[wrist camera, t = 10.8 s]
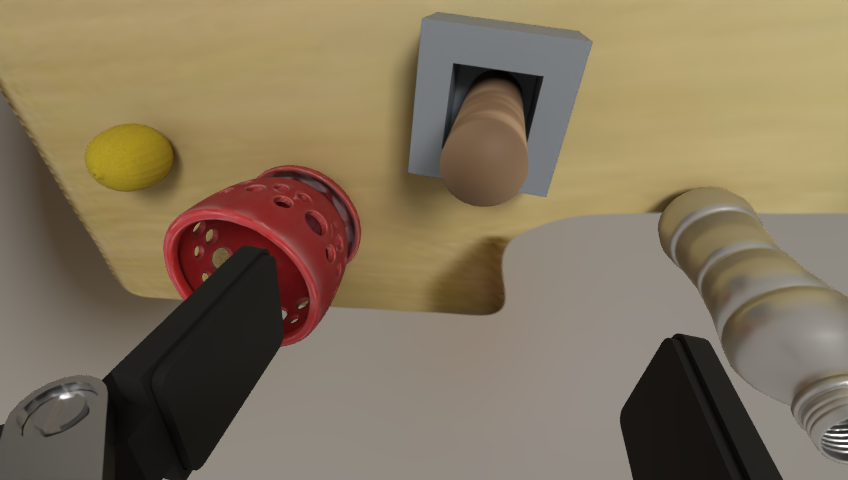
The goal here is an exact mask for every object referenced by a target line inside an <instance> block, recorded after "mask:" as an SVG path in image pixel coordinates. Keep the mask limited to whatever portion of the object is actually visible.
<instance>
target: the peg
mask: <svg viewBox="0 0 848 480" xmlns="http://www.w3.org/2000/svg"><path fill="white" fill-rule="evenodd" d="M528 166H529V162H528V152H527V142H526V131H525V121H524V111H523V101H522V91H521V87H520V85H519V83H518V81H517V80H516V79H515V78H514V77H513V76H512V75H511V74H509V73H508V72H505V71H502V70H489V71H486V72H484V73H482V74H480V75H479V76H478V77H477V78H476V79H475V80H474V81H473V82H472V84H471V86H470V88H469V90H468V92H467V95H466V97H465V99H464V101H463V104H462V106H461V108H460V111H459V113H458V115H457V118H456V120H455V122H454V125H453V127H452V129H451V131H450V134H449V136H448V138H447V141H446V143H445V145H444V148H443V150H442V153H441V157H440V173H441V177H442V180H443V182H444V184H445V186H446V187H447V189H448V190H449V191H450V192H451V193H452V194H453V195H454V196H455V197H456V198H458V199H459V200H461V201H463V202H465V203H467V204H470V205H474V206H493V205H498V204H500V203H503V202H505V201H507V200H509V199H510V198H511V197H513V196H514V195H515V194H516V193H517V192H518V191H519V190H520V188H521V187H522V186H523V184H524V182H525V180H526V177H527V173H528Z"/></svg>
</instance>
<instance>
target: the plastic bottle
mask: <svg viewBox="0 0 848 480" xmlns="http://www.w3.org/2000/svg"><path fill="white" fill-rule="evenodd" d="M658 231H659V238H660V242H661V246H662V248H663V250H664V252H665V253H666V254H667V256H668V257H669V258H670V259H671V260H672V261H673V262H674V263H675V264H676V265H677V266H678V267H679V268H680V269H682V270H683V271H684V272H685V274H686V275H687V276H688V277H689V279H690V280H691V281H692V282H693V284H694V285H695V286H696V288H697V289H698V291H699V293H700V295H701V297H702V298H703V300H704V302H705V305H706V307H707V308H708V310H709V312H710V314H711V316H712V319H713V322H714V325H715V328H716V331H717V333H718V336H719V339H720V342H721V344H722V348H723V350H724V353H725V355H726V357H727V359H728V361H729V363H730V366H731V367H732V368H733V369H734V371H735V372H736V373H737V374H738V375H739V376H740V377H741V378H743V379H744V380H745V381H746V382H747V383H748V384H750V385H751V386H752V387H754V388H755V389H757V390H759V391H760V392H763V393H764V394H766V395H768V396H770V397H772V398H774V399H776V400H778V401H780V402H782V403H785V404H787V405H790V406H791V411H792V415H793V416H794V418H795V419H796V421H797V423H798V424H799V425H800V426H801V428H803V429H804V430H805V431H806V432H807V434H808V435H809V437H810V438H811V440H812V442H813V443H814V444H815V446H816V447H817V449H818V450H819V451H820V452H821V453H822V454H823V455H824V456H825V457H827V458H828V459H830V460H833V461H835V462H838V463H842V464H848V297H846V296H845V295H843V294H842V293H840V292H839V291H837V290H836V289H834V288H833V287H831V286H829V285H828V284H827V283H825V282H824V281H822V280H821V279H819V278H818V277H816V276H815V275H813V274H812V273H810V272H809V271H807V270H806V269H804V268H803V267H802V266H801V265H800V264H799V263H797V262H796V261H795V260H794V259H792V258H791V257H790V256H789V255H788V254H787V253H786V252H784V251H783V250H782V249H781V248H780V247H779V246H778V244H777V243H776V242H775V241H774V239H773V238H772V237H771V236H770V234H769V233H768V232H767V231H766V229H765V228H764V227H763V224H762V222H761V220H760V218H759V216H758V215H757V213H756V212H755V210H754V209H753V208H752V206H751V205H750V203H749V202H747V201H746V200H745V199H744V198H742V197H740V196H738V195H737V194H735V193H733V192H731V191H728V190H726V189H723V188H719V187H701V188H697V189H693V190H690V191H688V192H685V193H683V194H682V195H680V196H678V197H677V198H675V199H674V200H673V201H672V202H671V203H670V204H669V205H668V206H667V207H666V208H665V210H664V211H663V213H662V215H661V217H660V220H659V224H658Z"/></svg>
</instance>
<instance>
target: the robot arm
mask: <svg viewBox="0 0 848 480" xmlns="http://www.w3.org/2000/svg"><path fill="white" fill-rule="evenodd" d="M283 338H284V327H283V318H282V310H281V301H280V292H279V283H278V274H277V266H276V259H275V258H274V257H273V256H270V252H269V251H268V250H267V249H264V248H259V247H254V246H249V245H243V246H241V247H240V248H239V249H238V250H237V251H236V252H235V253H234V254H233V255H231V256H230V257H229V258H228V259H227V260H226V261H225V262H224V263H223V264H222V265H221V266H220V267H219V268H218V269H217V270H216V271H215V272H214V273H213V274H212V275H211V276H210V277H209V278H208V279H206V280H205V281H204V282H203V283H202V284H201V285H200V286H199V287H198V288H197V289H196V290H195V291H194V292H193V293H192V294H191V295H190V296H189V297H188V298H187V299H186V300H185V301H184V302H183V303H181V304H180V305H179V306H178V307H177V308H176V309H175V310H174V311H173V312H172V313H171V314H170V315H169V316H168V317H167V318H166V319H165V320H164V321H163V322H162V323H161V324H160V325H159V326H158V327H156V328H155V329H154V330H153V331H152V332H151V333H150V334H149V335H148V336H147V337H146V338H145V339H144V340H143V341H142V342H141V343H140V344H139V345H138V346H137V347H136V348H135V349H134V350H132V351H131V352H130V354H128V355H127V356H126V357H125V358H124V359H123V360H122V361H121V362H120V363H119V364H118V365H117V366H116V367H115V368H114V369H113V370H112V371H111V372H110V373H109V374H108V375H107V376H106V377H105V378H104V379H103V380H101V379H99V378H96V377H93V376H87V375H86V376H84V375H76V376H71V377H65V378H62V379H59V380H56V381H53V382H51V383H48V384H46V385H45V386H42V387H41V388H39V389H37V390H35V391H33V392H32V393H31V394H29V395H28V396H27V397H25V398H24V399H23V400H22V401H20V402H19V403H18V405H17V406H16V407H15V408H14V409H13V410H12V411H11V412H10V414H9V416H8V418H7V420H6V422H5V424H3V425H0V480H162V479H163V478H165V479H168V480H187V478H188V477H189V475H190V474H191V472H192V470H198V469H200V468H201V467H202V466H203V465H204V463H205V462H206V460H207V459H208V457H209V456H210V454H211V452H212V451H213V450H214V448H215V446H216V445H217V443H218V442H219V440H220V439H221V437H222V436H223V434H224V433H225V431H226V429H227V428H228V426H229V425H230V423H231V422H232V420H233V419H234V417H235V416H236V414H237V413H238V411H239V409H240V408H241V406H242V405H243V403H244V402H245V400H246V398H247V397H248V396H249V394H250V393H251V391H252V389H253V388H254V386H255V385H256V383H257V382H258V380H259V379H260V377H261V375H262V374H263V372H264V371H265V369H266V368H267V366H268V365H269V363H270V362H271V360H272V359H273V357H274V356H275V354H276V352H277V351H278V349H279V348H280V346H281V344H282V342H283ZM620 424H621V429H622V434H623V437H624V442H625V446H626V450H627V455H628V459H629V464H630V468H631V472H632V477H633V480H783V479H782V477H781V475H780V473H779V471H778V469H777V467H776V466H775V464H774V462H773V460H772V458H771V456H770V455H769V453H768V451H767V449H766V447H765V445H764V443H763V441H762V439H761V438H760V436H759V434H758V432H757V430H756V428H755V426H754V425H753V422H752V421H751V419H750V417H749V415H748V413H747V411H746V409H745V408H744V406H743V404H742V402H741V400H740V398H739V396H738V394H737V392H736V391H735V389H734V387H733V385H732V383H731V381H730V379H729V377H728V376H727V374H726V372H725V370H724V368H723V366H722V364H721V363H720V361H719V359H718V357H717V355H716V353H715V351H714V349H713V347H712V346H711V344H710V343H709V341H708V340H706V339H703V338H698V337H693V336H689V335H684V334H675V335H674V336H673V337H672V338H666V339H665V340H664V341H663V342H662V343H661V345H660V347H659V349H658V350H657V352H656V354H655V355H654V357H653V359H652V360H651V362H650V364H649V365H648V367H647V368H646V370H645V372H644V373H643V375H642V377H641V378H640V380H639V382H638V384H637V385H636V387H635V388H634V390H633V392H632V393H631V395H630V397H629V398H628V400H627V402H626V403H625V405H624V407H623V408H622V411H621V415H620Z"/></svg>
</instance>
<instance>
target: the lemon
mask: <svg viewBox="0 0 848 480" xmlns="http://www.w3.org/2000/svg"><path fill="white" fill-rule="evenodd" d="M173 160H174V157H173V150H172V147H171V145H170V143H169V142H168V140H167V139H166V138H165V137H164V136H163V135H162V134H161V133H160V132H158V131H157V130H155V129H153V128H151V127H148V126H146V125H141V124H123V125H117V126H114V127H112V128H109V129H107V130H105V131H103V132H102V133H100V134H99V135H97V136H96V137H95V138H94V139H93V140H92V141H91V142H90V144H89V145H88V146H87V149H86V152H85V164H86V168H87V170H88V172H89V173H90V175H91V176H92V177H93V178H94V179H95V180H96V181H97V182H98V183H100V184H101V185H103V186H105V187H107V188H109V189H112V190H116V191H123V192H130V191H136V190H141V189H145V188H148V187H150V186H152V185H154V184H156V183H157V182H159V181H161V180H162V179H163V178H164V177H165V176H166V175H167V174H168V172H169V171H170V169H171V168H172V164H173Z"/></svg>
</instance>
